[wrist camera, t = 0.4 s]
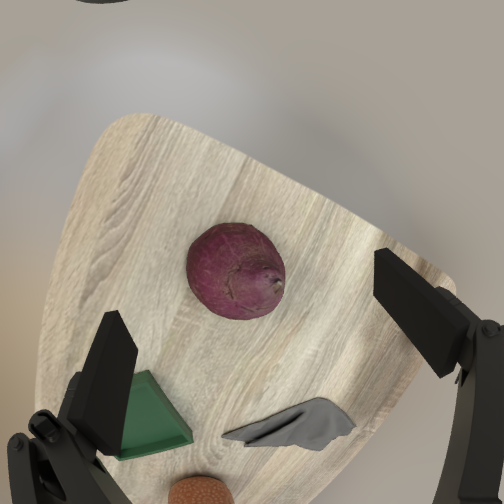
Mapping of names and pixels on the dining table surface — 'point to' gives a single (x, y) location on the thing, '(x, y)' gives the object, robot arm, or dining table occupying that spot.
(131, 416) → the green tray
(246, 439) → the cloth
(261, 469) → the dining table surface
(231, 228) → the vegetable
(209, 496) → the planter
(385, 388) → the dining table surface
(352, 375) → the dining table surface
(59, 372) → the dining table surface
